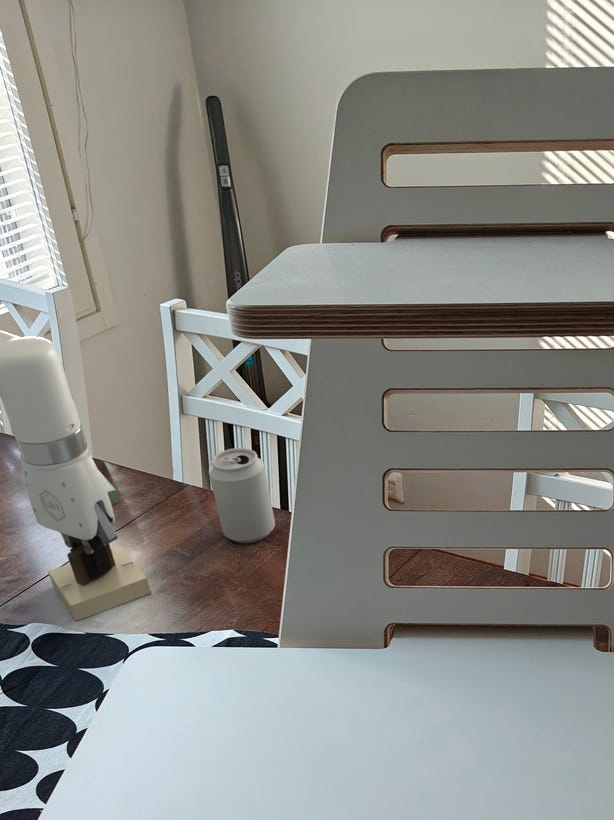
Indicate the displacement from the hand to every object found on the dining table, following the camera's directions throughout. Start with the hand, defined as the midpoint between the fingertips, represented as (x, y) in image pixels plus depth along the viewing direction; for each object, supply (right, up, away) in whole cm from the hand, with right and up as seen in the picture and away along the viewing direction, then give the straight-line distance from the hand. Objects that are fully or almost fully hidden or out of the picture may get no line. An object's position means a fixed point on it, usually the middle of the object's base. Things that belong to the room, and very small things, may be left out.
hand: (95, 571), depth 129 cm
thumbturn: (0, 0, 0) cm, 0 cm away
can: (+17, +6, +12) cm, 22 cm away
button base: (-11, +12, +21) cm, 27 cm away
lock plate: (0, -2, +2) cm, 3 cm away
